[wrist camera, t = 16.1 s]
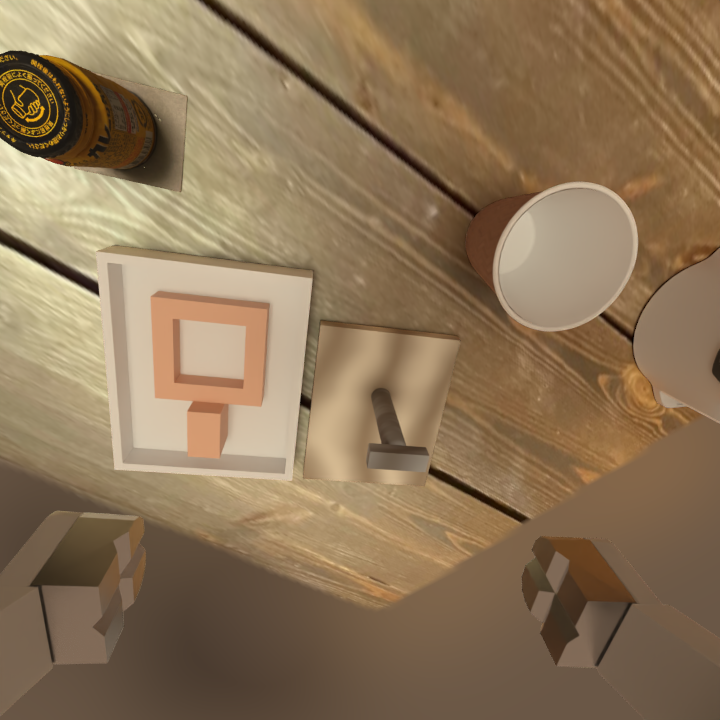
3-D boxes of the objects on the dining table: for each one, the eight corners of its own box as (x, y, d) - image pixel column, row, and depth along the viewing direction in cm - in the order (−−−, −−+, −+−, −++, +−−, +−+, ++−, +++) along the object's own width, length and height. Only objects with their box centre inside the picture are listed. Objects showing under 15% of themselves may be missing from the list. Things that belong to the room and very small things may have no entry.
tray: (313, 270, 40) (312, 278, 37) (293, 460, 49) (291, 480, 45) (114, 245, 38) (95, 251, 35) (129, 449, 46) (114, 469, 43)
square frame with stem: (269, 303, 41) (264, 315, 37) (261, 438, 46) (256, 460, 43) (158, 290, 39) (141, 302, 36) (163, 431, 45) (149, 453, 41)
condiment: (73, 67, 33) (-51, 12, 22) (187, 96, 34) (124, 58, 23) (75, 168, 36) (-34, 164, 25) (181, 192, 37) (122, 198, 26)
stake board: (456, 335, 44) (504, 392, 33) (421, 477, 51) (451, 566, 39) (320, 320, 42) (320, 374, 31) (303, 469, 49) (297, 560, 38)
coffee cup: (565, 262, 42) (651, 292, 31) (469, 310, 43) (519, 355, 32) (535, 158, 38) (621, 151, 27) (430, 214, 39) (472, 228, 28)
